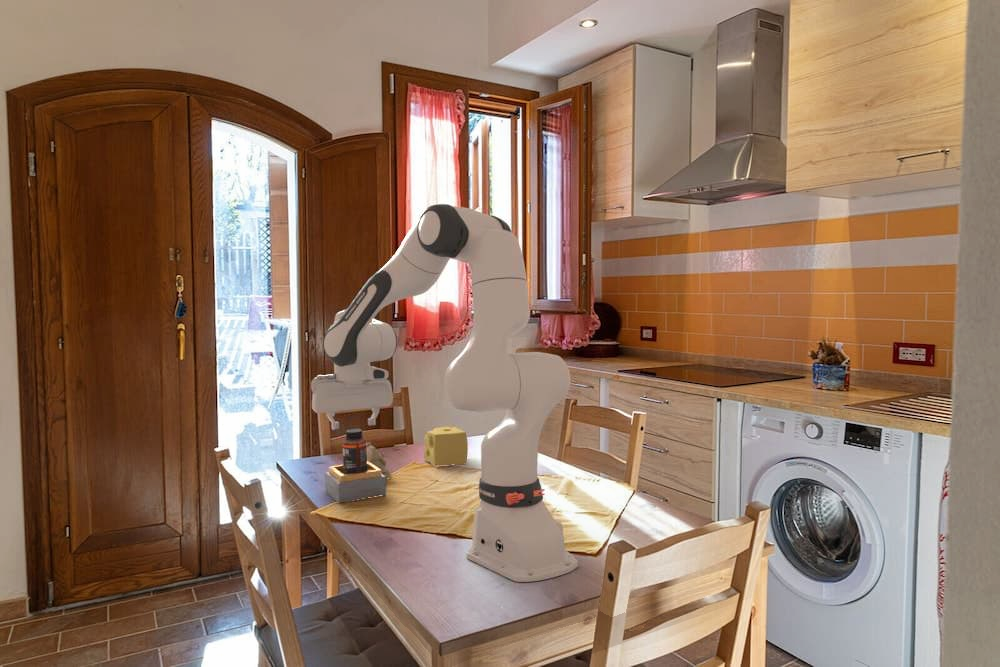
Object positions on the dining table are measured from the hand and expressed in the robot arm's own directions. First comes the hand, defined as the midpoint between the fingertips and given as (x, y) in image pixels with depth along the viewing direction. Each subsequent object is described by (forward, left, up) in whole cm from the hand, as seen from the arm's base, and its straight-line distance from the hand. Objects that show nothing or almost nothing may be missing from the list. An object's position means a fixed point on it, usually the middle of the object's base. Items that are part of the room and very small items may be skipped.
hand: (353, 427), depth 165 cm
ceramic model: (+13, -8, -18) cm, 24 cm away
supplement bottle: (0, 0, -12) cm, 12 cm away
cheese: (+16, -33, -18) cm, 41 cm away
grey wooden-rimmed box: (0, 0, -17) cm, 17 cm away
